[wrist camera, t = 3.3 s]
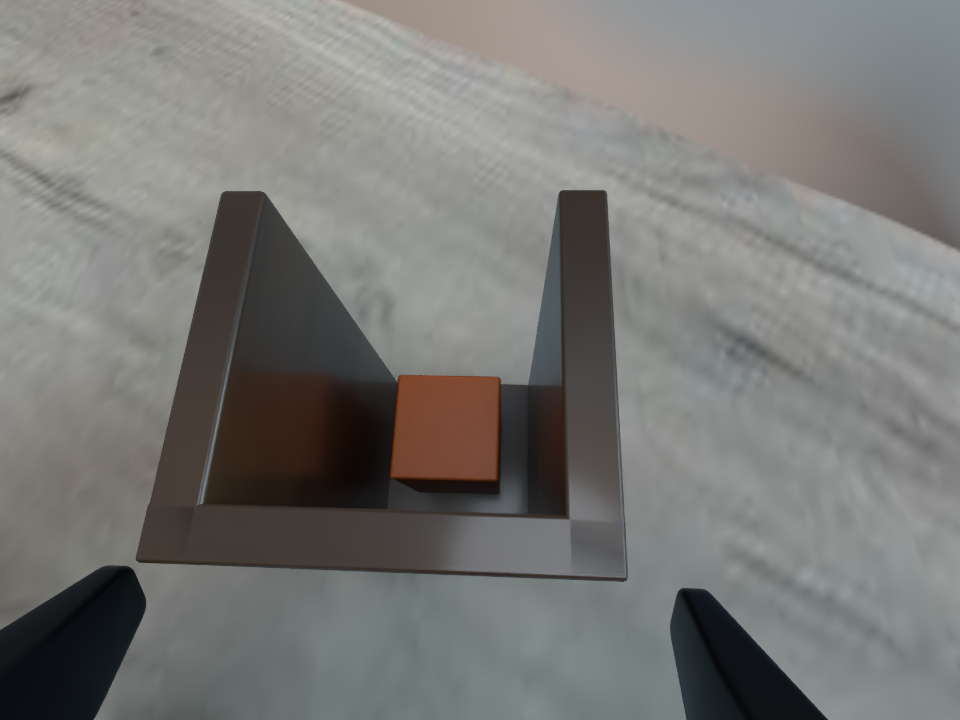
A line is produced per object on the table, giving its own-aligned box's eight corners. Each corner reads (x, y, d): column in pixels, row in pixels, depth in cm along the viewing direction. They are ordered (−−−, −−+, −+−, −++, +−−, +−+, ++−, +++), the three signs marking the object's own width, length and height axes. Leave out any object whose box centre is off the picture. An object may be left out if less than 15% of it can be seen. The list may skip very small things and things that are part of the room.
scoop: (549, 553, 18) (629, 581, 7) (366, 546, 19) (132, 562, 7) (547, 390, 20) (607, 188, 9) (382, 387, 21) (219, 188, 9)
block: (499, 494, 18) (498, 481, 14) (416, 492, 19) (389, 478, 14) (501, 412, 19) (500, 376, 15) (421, 410, 20) (398, 374, 15)
